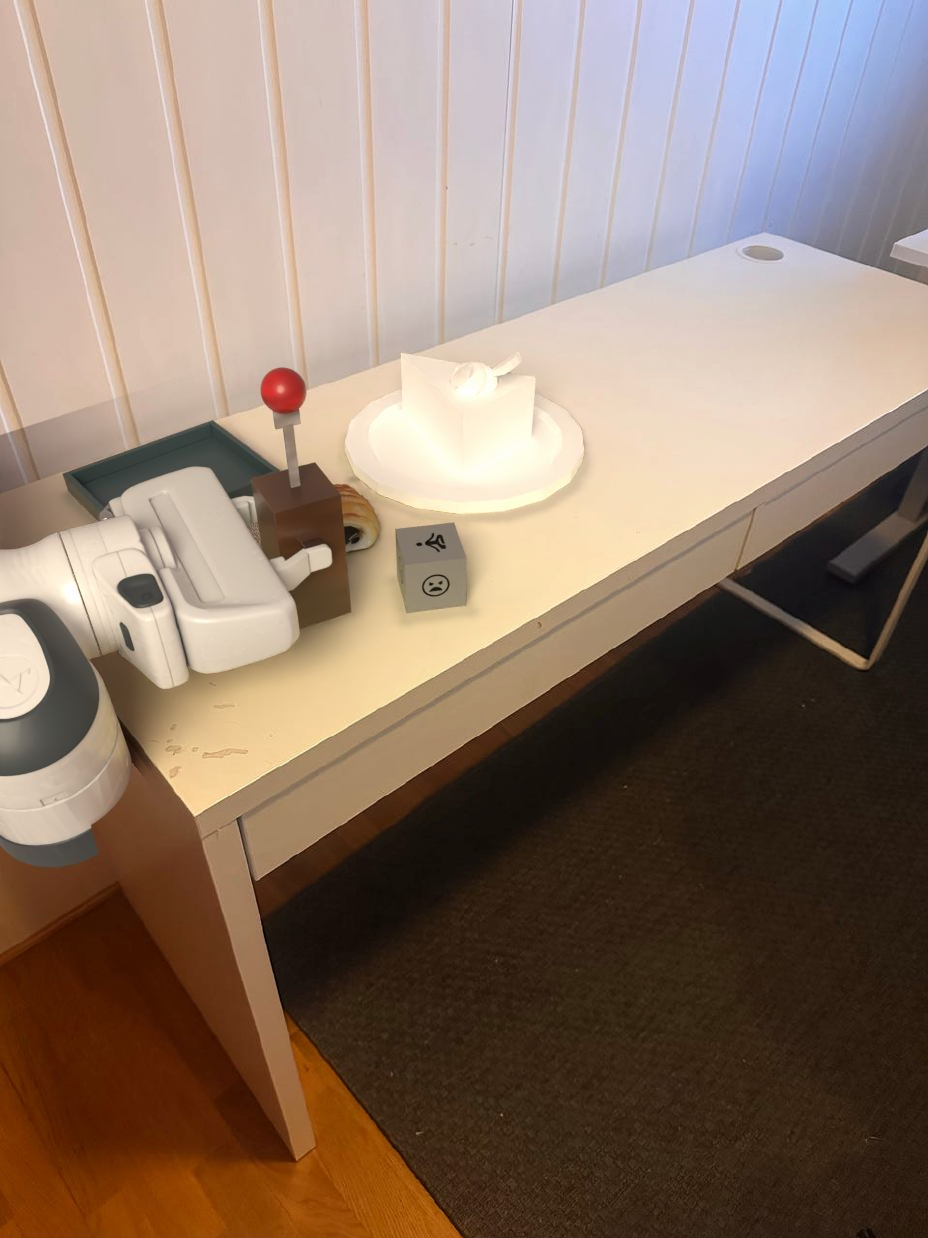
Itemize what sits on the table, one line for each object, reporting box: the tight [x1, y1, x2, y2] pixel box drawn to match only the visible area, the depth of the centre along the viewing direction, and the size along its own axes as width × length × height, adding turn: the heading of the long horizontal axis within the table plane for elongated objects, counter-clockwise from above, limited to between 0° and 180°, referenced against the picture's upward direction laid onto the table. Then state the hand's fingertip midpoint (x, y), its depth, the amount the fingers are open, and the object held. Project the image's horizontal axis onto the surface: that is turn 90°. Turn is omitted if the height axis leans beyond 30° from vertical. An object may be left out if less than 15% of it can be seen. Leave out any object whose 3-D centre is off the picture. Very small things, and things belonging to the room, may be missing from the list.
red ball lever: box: [251, 367, 352, 630], centre depth 65 cm, size 5×5×20 cm
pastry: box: [332, 483, 381, 553], centre depth 82 cm, size 9×7×4 cm
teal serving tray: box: [62, 419, 281, 522], centre depth 87 cm, size 16×13×2 cm
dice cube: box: [394, 522, 468, 614], centre depth 75 cm, size 5×5×5 cm
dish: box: [344, 351, 585, 515], centre depth 90 cm, size 25×25×11 cm
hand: (312, 528), depth 67 cm, fingers closed on red ball lever, 5 cm apart
